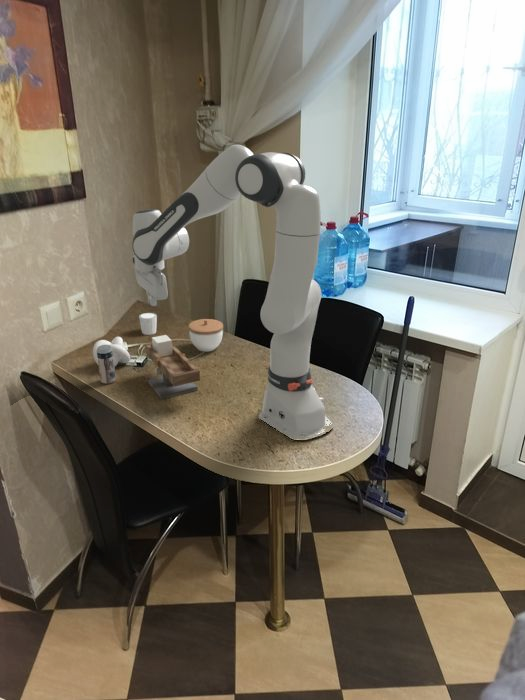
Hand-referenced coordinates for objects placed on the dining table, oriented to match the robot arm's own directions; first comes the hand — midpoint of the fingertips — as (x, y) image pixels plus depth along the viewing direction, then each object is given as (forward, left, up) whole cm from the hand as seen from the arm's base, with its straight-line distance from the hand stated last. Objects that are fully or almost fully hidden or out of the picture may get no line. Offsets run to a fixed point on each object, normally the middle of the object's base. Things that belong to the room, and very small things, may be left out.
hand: (152, 304), depth 160 cm
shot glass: (+32, -8, -23) cm, 40 cm away
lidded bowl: (+8, -22, -23) cm, 33 cm away
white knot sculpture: (+10, +13, -23) cm, 28 cm away
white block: (-7, 0, -14) cm, 16 cm away
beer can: (-1, +17, -23) cm, 29 cm away
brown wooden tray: (-14, 0, -23) cm, 27 cm away
